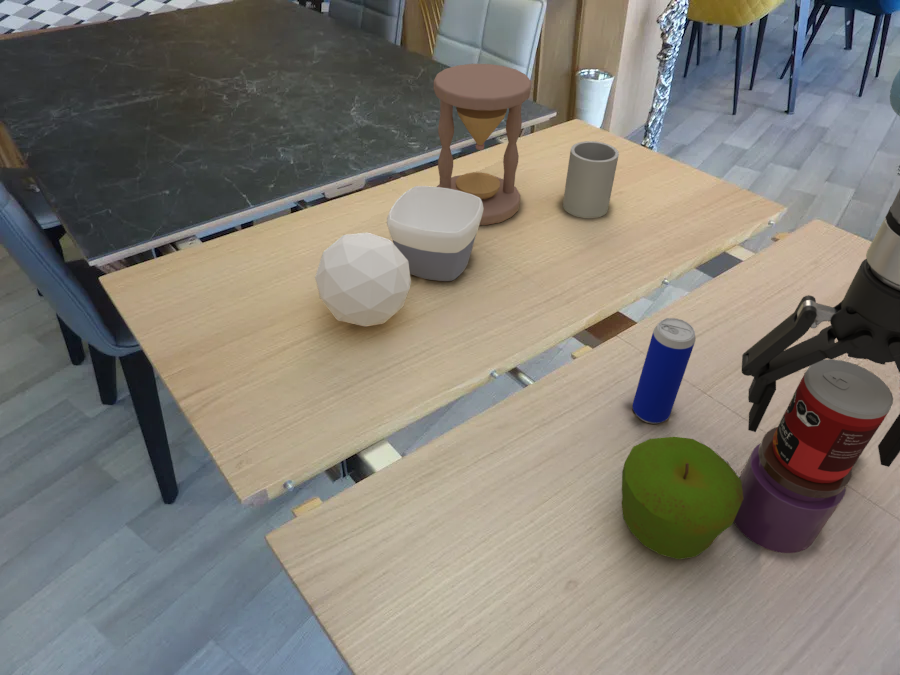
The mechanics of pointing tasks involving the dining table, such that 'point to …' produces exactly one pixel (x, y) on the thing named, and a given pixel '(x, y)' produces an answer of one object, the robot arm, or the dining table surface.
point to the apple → (678, 495)
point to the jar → (783, 502)
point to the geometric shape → (363, 279)
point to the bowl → (435, 230)
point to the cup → (590, 179)
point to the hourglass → (482, 130)
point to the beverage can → (663, 369)
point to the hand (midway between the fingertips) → (816, 439)
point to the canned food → (830, 420)
